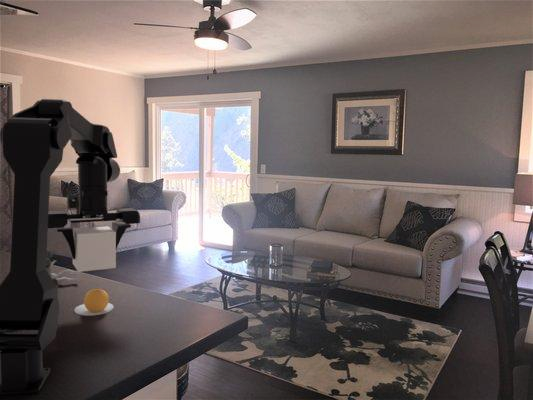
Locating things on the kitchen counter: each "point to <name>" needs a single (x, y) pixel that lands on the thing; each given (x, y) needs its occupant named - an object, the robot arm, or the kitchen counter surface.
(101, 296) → the ball
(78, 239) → the cream cube
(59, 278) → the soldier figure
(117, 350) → the kitchen counter surface
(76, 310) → the white round disc
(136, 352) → the kitchen counter surface
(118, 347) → the kitchen counter surface
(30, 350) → the robot arm
